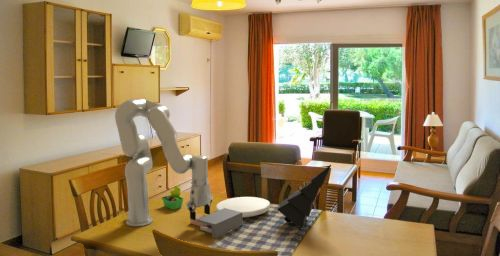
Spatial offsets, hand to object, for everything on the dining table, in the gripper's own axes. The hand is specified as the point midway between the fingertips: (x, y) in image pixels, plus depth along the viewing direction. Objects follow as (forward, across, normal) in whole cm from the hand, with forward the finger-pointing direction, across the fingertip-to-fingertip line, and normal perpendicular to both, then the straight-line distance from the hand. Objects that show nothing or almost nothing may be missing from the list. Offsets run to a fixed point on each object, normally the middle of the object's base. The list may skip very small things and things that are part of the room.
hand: (200, 216), depth 204 cm
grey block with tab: (+3, 0, -12) cm, 12 cm away
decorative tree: (+3, +28, -41) cm, 50 cm away
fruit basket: (+4, +10, +30) cm, 32 cm away
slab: (+4, 0, -2) cm, 4 cm away
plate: (+4, +25, -6) cm, 26 cm away
